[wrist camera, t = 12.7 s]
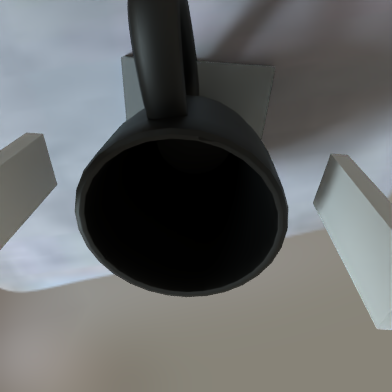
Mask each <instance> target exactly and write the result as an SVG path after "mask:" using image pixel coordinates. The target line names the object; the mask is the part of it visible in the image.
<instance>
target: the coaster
mask: <svg viewBox="0 0 392 392" xmlns="http://www.w3.org/2000/svg"><path fill="white" fill-rule="evenodd" d="M121 63H122V74H123V86H124V98H125V109H126V121H127V120H129V119H130V118H131V117H133V116H134V115H135V114H137V113H138V112H139V111H141V110H142V109H144V105H143V100H142V96H141V92H140V87H139V82H138V77H137V72H136V67H135V62H134V57H130V56H123V57H121ZM197 67H198V77H199V96H203V97H206V98H210V99H213V100H216V101H219V102H221V103H222V104H224V105H226V106H227V107H229V108H231V109H232V110H234V111H235V112H237V113H238V114H239V115H240V116H241V117H242V118H243V119H244V120H245V121H246V122H247V123H248V124H249V125H250V126H251V127H252V128H253V129H254V131H255V132H256V133H257V134H258V136H259V138H260V139H262V134H263V129H264V124H265V118H266V113H267V108H268V103H269V98H270V93H271V87H272V82H273V77H274V72H275V67H274V66H266V65H251V64H236V63H220V62H205V61H197Z"/></svg>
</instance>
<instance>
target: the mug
mask: <svg viewBox="0 0 392 392" xmlns="http://www.w3.org/2000/svg"><path fill="white" fill-rule="evenodd" d="M128 22H129V30H130V38H131V44H132V51H133V56H134V62H135V67H136V72H137V77H138V82H139V87H140V92H141V96H142V100H143V105H144V109H142V110H141V111H139V112H138V113H137V114H135V115H134V116H133V117H131V118H130V119H129V120H127V121H126V122H124V123H123V124H122V125H121V126H120V127H119V128H118V129H117V131H116V132H115V133H114V134H113V135H112V136H111V137H110V139H109V140H108V141H107V142H106V143H105V144H104V146H103V147H102V148H101V149H100V150H99V151H98V152H97V154H96V155H95V156H94V158H93V159H92V160H91V162H90V163H89V164H88V165H87V167H86V168H85V169H84V171H83V174H82V176H81V179H80V181H79V184H78V187H77V189H76V202H75V214H76V219H77V224H78V228H79V231H80V233H81V235H82V237H83V239H84V241H85V243H86V245H87V247H88V248H89V250H90V251H91V252H92V253H93V254H94V256H95V257H96V258H97V259H98V261H99V262H100V263H102V264H103V265H104V266H105V267H106V268H108V269H109V270H110V271H111V272H112V273H113V274H115V275H117V276H118V277H120V278H122V279H124V280H125V281H127V282H129V283H130V284H133V285H135V286H138V287H140V288H143V289H146V290H148V291H152V292H156V293H160V294H165V295H171V296H182V297H192V296H193V297H194V296H208V295H213V294H217V293H222V292H226V291H229V290H231V289H233V288H236V287H239V286H241V285H243V284H245V283H246V282H248V281H249V280H251V279H253V278H255V277H256V276H258V275H259V274H260V273H261V272H262V271H263V270H264V269H265V268H267V266H269V265H270V264H271V263H272V261H273V260H274V258H275V257H276V255H277V254H278V252H279V251H280V249H281V247H282V244H283V241H284V238H285V235H286V232H287V228H288V205H287V201H286V197H285V194H284V190H283V186H282V184H281V182H280V179H279V177H278V174H277V172H276V169H275V167H274V164H273V162H272V160H271V158H270V155H269V153H268V151H267V149H266V148H265V146H264V144H263V143H262V141H261V139H260V138H259V136H258V134H257V133H256V132H255V131H254V129H253V128H252V127H251V126H250V125H249V124H248V123H247V122H246V121H245V120H244V119H243V118H242V117H241V116H240V115H239V114H238V113H237V112H235V111H234V110H232V109H231V108H229V107H227V106H226V105H224V104H222V103H221V102H219V101H216V100H213V99H210V98H206V97H203V96H199V77H198V67H197V58H196V51H195V44H194V37H193V30H192V23H191V17H190V11H189V6H188V1H187V0H128Z"/></svg>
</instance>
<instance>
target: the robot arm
mask: <svg viewBox="0 0 392 392" xmlns="http://www.w3.org/2000/svg"><path fill="white" fill-rule="evenodd" d="M56 186H57V182H56V179H55V175H54V171H53V168H52V164H51V161H50V157H49V153H48V150H47V146H46V143H45V139H44V136H43V134H38V133H25V134H24V135H22V136H21V137H19V138H18V139H16V140H15V141H13V142H12V143H11V144H9V145H8V146H6V147H5V148H3V149H2V150H0V250H1V249H2V247H3V246H4V245H5V244H6V243H7V242H8V241H9V239H10V238H11V237H12V236H13V235H14V234H15V232H16V231H17V230H18V229H19V228H20V227H21V226H22V224H23V223H24V222H25V221H26V220H27V219H28V218H29V216H30V215H31V214H32V213H33V212H34V211H35V210H36V208H37V207H38V206H39V205H40V204H41V203H42V202H43V200H44V199H45V198H46V197H47V196H48V195H49V194H50V192H51V191H52V190H53V189H54V188H55V187H56ZM313 204H314V206H315V208H316V210H317V212H318V214H319V216H320V218H321V220H322V222H323V224H324V226H325V228H326V230H327V232H328V234H329V235H330V237H331V239H332V241H333V243H334V245H335V247H336V249H337V251H338V253H339V255H340V257H341V259H342V261H343V263H344V265H345V267H346V269H347V271H348V273H349V275H350V277H351V279H352V281H353V283H354V285H355V286H356V289H357V291H358V293H359V295H360V297H361V298H362V300H363V302H364V304H365V306H366V308H367V310H368V312H369V314H370V316H371V318H372V320H373V322H374V324H375V326H376V328H377V329H386V330H392V203H391V202H390V201H389V200H388V199H387V197H386V196H385V195H384V194H383V193H382V192H381V191H380V190H379V189H378V188H377V186H376V185H375V184H374V183H373V182H372V181H371V180H370V179H369V178H368V177H367V175H366V174H365V173H364V172H363V171H362V170H361V169H360V168H359V167H358V166H357V164H356V163H355V162H354V161H353V160H352V159H351V158H350V157H349V156H348V155H341V154H331V155H330V158H329V160H328V163H327V166H326V169H325V171H324V174H323V177H322V180H321V182H320V185H319V188H318V191H317V193H316V196H315V199H314V202H313Z"/></svg>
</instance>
